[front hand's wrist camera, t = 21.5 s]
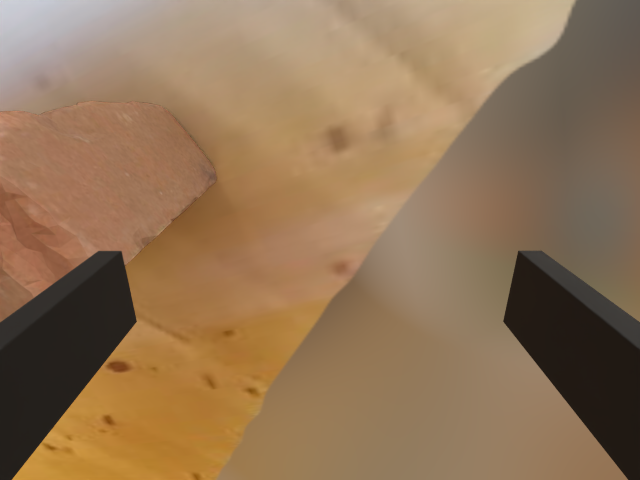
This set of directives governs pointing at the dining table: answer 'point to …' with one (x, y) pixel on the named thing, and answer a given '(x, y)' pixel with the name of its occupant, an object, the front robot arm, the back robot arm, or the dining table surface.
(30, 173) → the stone
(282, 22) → the dining table surface
